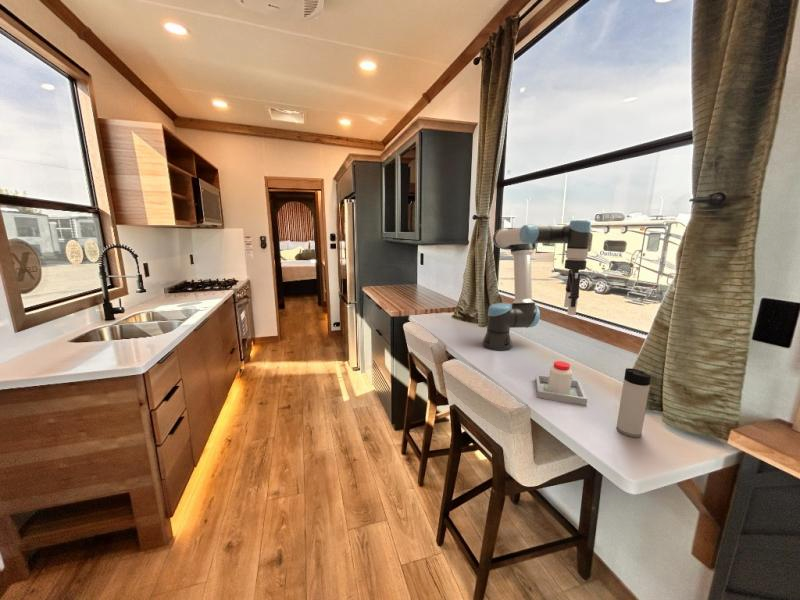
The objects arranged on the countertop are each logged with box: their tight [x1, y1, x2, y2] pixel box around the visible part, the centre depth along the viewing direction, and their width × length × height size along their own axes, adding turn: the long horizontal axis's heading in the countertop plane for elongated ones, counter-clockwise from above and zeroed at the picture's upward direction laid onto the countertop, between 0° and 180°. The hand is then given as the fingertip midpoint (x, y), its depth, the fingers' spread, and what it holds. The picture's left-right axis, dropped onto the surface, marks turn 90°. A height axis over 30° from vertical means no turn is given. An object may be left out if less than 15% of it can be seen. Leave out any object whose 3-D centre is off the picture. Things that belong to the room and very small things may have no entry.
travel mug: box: [616, 367, 652, 438], centre depth 95 cm, size 6×7×20 cm
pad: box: [542, 384, 576, 396], centre depth 122 cm, size 11×11×1 cm
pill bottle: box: [547, 360, 573, 395], centre depth 121 cm, size 8×8×11 cm
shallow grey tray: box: [535, 374, 588, 406], centre depth 122 cm, size 16×16×2 cm
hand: (569, 310), depth 131 cm, fingers open, 13 cm apart
